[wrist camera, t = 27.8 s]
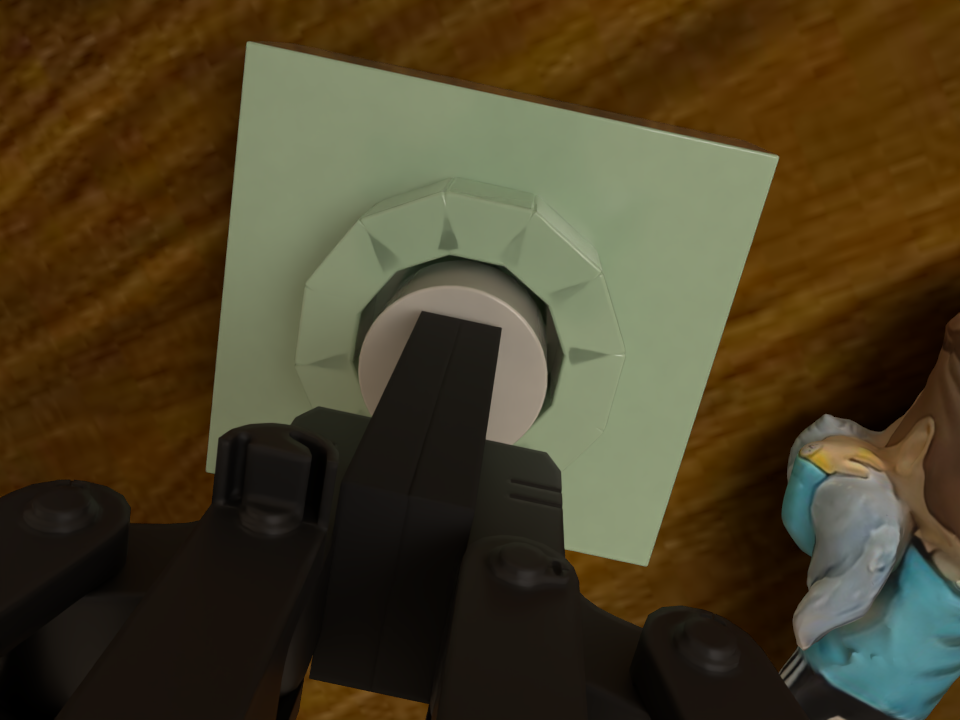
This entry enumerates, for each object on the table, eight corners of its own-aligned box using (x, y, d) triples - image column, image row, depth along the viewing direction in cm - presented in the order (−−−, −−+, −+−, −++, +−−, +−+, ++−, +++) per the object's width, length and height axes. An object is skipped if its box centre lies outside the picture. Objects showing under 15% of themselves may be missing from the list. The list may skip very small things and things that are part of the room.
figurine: (1185, 342, 21) (1431, 453, 15) (819, 765, 26) (897, 966, 20) (927, 203, 20) (1081, 264, 14) (605, 666, 25) (623, 846, 19)
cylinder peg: (565, 280, 17) (567, 309, 15) (526, 436, 18) (524, 480, 16) (392, 243, 17) (372, 267, 15) (365, 402, 18) (344, 442, 16)
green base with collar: (747, 141, 20) (809, 169, 15) (635, 505, 23) (658, 620, 19) (287, 41, 20) (208, 39, 15) (245, 421, 23) (170, 515, 19)
